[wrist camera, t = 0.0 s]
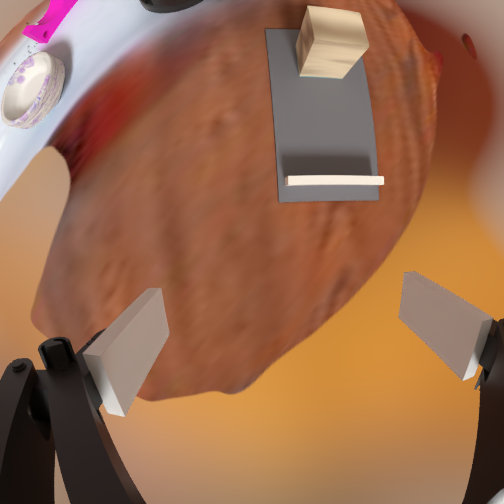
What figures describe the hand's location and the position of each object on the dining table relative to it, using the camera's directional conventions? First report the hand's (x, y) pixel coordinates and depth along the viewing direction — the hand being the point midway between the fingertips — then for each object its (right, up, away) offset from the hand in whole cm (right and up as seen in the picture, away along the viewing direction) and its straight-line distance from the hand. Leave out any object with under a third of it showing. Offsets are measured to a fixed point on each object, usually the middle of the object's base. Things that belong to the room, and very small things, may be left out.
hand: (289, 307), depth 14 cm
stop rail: (+10, +13, +25) cm, 30 cm away
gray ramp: (+9, +25, +23) cm, 35 cm away
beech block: (+9, +33, +21) cm, 40 cm away
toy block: (-47, +57, +17) cm, 76 cm away
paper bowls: (-43, +34, +22) cm, 59 cm away
